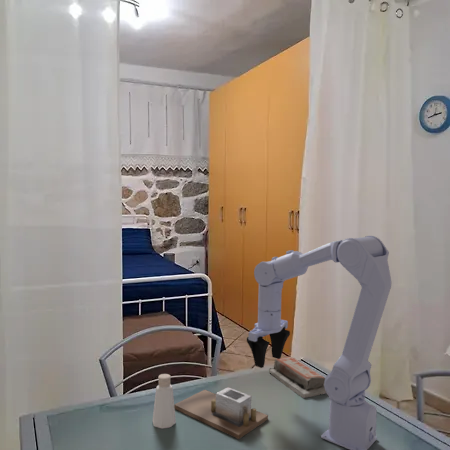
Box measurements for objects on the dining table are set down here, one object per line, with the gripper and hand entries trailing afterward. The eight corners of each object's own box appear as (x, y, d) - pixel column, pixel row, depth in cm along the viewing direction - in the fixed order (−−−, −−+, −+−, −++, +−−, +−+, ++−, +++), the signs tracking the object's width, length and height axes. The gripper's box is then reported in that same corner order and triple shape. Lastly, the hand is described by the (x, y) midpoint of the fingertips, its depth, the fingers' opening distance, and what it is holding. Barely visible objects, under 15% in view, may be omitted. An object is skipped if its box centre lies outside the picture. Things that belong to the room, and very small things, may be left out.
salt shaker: (180, 423, 100) (181, 376, 99) (160, 431, 96) (160, 383, 96) (167, 414, 104) (167, 369, 103) (147, 421, 100) (147, 374, 100)
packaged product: (268, 357, 129) (296, 353, 133) (267, 373, 130) (295, 368, 134) (303, 382, 113) (334, 376, 117) (303, 400, 113) (333, 393, 118)
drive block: (250, 416, 101) (251, 395, 101) (239, 424, 98) (239, 402, 98) (227, 407, 106) (228, 386, 105) (215, 413, 102) (216, 393, 102)
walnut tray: (267, 419, 102) (268, 405, 102) (238, 439, 94) (239, 423, 94) (204, 393, 115) (204, 380, 115) (174, 408, 107) (174, 394, 106)
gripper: (272, 301, 117) (271, 350, 118) (239, 311, 106) (237, 366, 107) (295, 305, 113) (293, 357, 114) (262, 317, 102) (261, 374, 103)
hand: (268, 362), depth 110 cm, fingers open, 7 cm apart
